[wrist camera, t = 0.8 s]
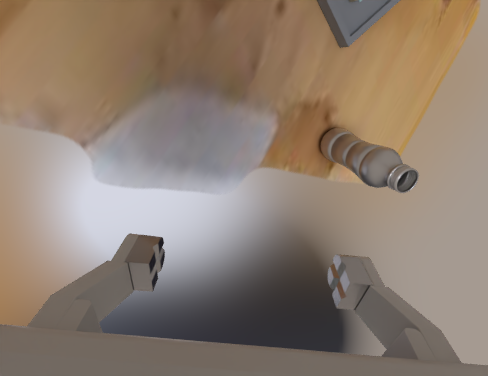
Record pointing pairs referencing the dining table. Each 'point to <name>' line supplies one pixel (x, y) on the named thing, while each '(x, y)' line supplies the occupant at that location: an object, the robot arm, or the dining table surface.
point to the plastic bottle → (368, 161)
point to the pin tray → (353, 17)
